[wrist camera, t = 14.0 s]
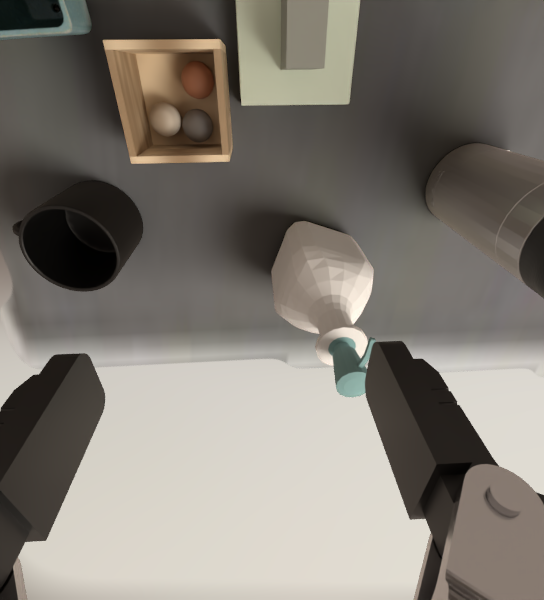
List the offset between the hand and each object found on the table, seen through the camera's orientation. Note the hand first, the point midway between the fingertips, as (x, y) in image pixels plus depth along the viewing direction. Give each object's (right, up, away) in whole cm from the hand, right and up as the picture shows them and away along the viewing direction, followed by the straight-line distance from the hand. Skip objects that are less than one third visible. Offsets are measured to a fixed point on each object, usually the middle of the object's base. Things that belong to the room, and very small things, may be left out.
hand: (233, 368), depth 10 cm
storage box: (-8, +22, +24) cm, 34 cm away
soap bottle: (+6, +8, +35) cm, 37 cm away
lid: (+3, +27, +22) cm, 35 cm away
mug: (-21, +12, +31) cm, 39 cm away
